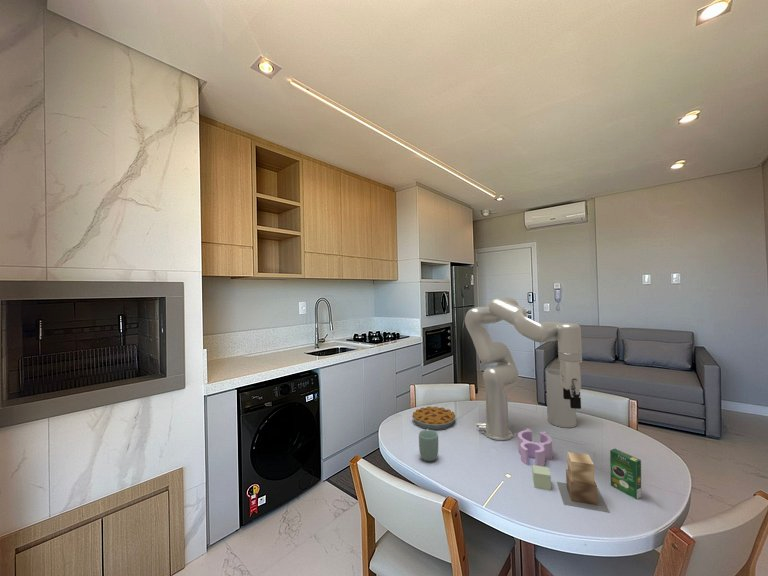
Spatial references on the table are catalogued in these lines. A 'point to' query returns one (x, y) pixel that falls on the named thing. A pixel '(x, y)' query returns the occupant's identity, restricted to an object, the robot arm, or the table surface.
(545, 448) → the clip
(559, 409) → the cylinder vase
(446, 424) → the pie
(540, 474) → the brick sage
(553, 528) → the table surface
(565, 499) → the base tile
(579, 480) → the brick oak
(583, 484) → the brick walnut
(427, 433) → the cup
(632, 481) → the coffee box
